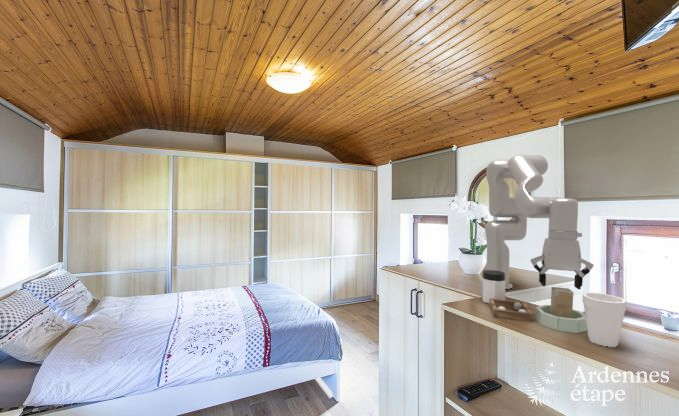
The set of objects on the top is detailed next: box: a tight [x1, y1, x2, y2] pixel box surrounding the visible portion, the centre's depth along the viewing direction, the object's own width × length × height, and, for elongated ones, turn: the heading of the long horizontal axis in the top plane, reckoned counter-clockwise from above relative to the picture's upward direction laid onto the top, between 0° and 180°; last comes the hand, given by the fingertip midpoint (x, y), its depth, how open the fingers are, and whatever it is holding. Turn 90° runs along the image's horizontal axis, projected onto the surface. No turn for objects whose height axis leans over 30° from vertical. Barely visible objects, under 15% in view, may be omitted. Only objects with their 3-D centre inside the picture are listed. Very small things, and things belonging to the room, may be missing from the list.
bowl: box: [535, 304, 588, 334], centre depth 100 cm, size 13×13×4 cm
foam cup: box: [582, 292, 627, 348], centre depth 87 cm, size 10×9×13 cm
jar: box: [481, 269, 506, 304], centre depth 122 cm, size 9×8×12 cm
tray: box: [488, 299, 535, 322], centre depth 110 cm, size 13×12×2 cm
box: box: [550, 286, 574, 318], centre depth 100 cm, size 5×4×11 cm
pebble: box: [513, 301, 523, 311], centre depth 112 cm, size 3×3×3 cm
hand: (559, 286), depth 101 cm, fingers open, 9 cm apart
